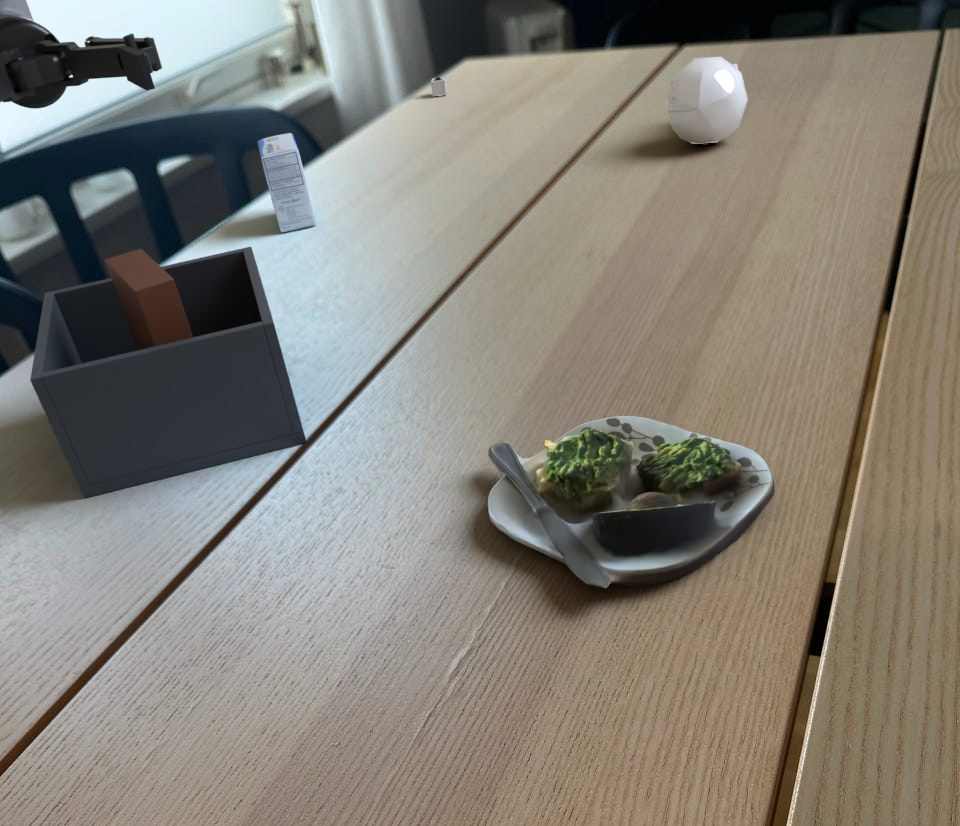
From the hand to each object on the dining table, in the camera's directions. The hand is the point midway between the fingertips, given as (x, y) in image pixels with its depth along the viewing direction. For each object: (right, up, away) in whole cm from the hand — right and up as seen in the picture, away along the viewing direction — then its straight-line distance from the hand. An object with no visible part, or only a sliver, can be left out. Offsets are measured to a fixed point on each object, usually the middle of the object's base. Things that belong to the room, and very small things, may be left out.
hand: (67, 91), depth 85 cm
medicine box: (+12, +5, +37) cm, 40 cm away
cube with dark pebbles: (+28, +40, +74) cm, 89 cm away
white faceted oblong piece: (+63, +17, +41) cm, 77 cm away
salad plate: (+44, -38, -17) cm, 61 cm away
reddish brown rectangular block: (+10, -27, 0) cm, 28 cm away
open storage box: (+10, -27, +1) cm, 29 cm away
